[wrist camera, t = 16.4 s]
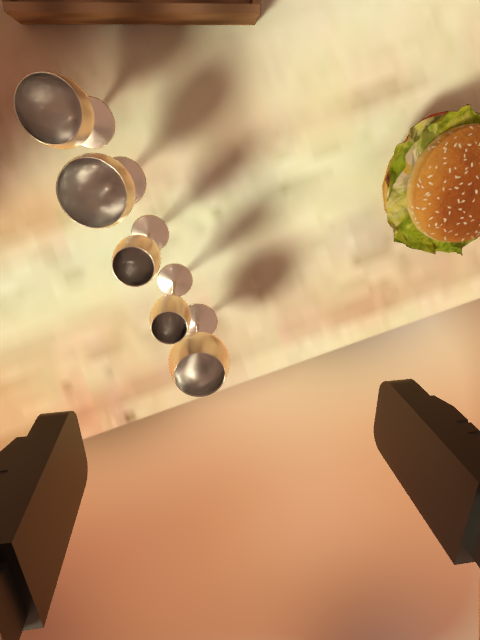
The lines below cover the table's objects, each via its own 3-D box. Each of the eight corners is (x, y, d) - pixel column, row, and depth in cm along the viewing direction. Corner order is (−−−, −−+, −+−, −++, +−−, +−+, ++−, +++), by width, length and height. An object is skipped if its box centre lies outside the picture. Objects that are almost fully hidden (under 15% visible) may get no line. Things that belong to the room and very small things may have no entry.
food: (397, 91, 38) (446, 76, 31) (511, 135, 41) (580, 131, 34) (346, 227, 43) (378, 241, 36) (451, 257, 46) (500, 276, 39)
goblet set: (49, 110, 35) (-25, 87, 23) (104, 82, 35) (59, 44, 23) (186, 351, 47) (185, 419, 35) (229, 331, 46) (243, 394, 34)
